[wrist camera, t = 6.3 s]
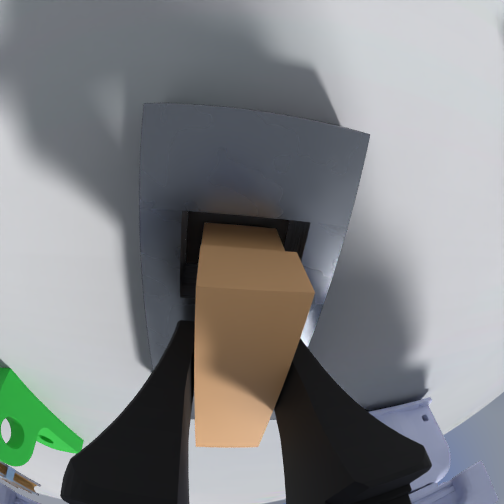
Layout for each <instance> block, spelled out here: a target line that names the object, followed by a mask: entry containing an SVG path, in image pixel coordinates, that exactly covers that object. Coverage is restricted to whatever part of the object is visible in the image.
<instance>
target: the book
mask: <svg viewBox="0 0 504 504" xmlns="http://www.w3.org/2000/svg"><path fill="white" fill-rule="evenodd" d="M0 478H2V479H3V480H5V481H6V482H8V483H9V484H11V485H13V486H15V487H17V488H20V489H23V490H26V491H28V492H30V493H33V494H36V495H39V494H38V493H36V492H35V490H34V486H41V485H40V484H38V483H36V482H34V481H33V480H31V479H29V478H27V477H26V476H24V475H22V474H21V473H19V472H17V471H16V470H14V469H13V468H11V467H10V466H8V465H6V464H5V463H3V462H1V461H0Z"/></svg>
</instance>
